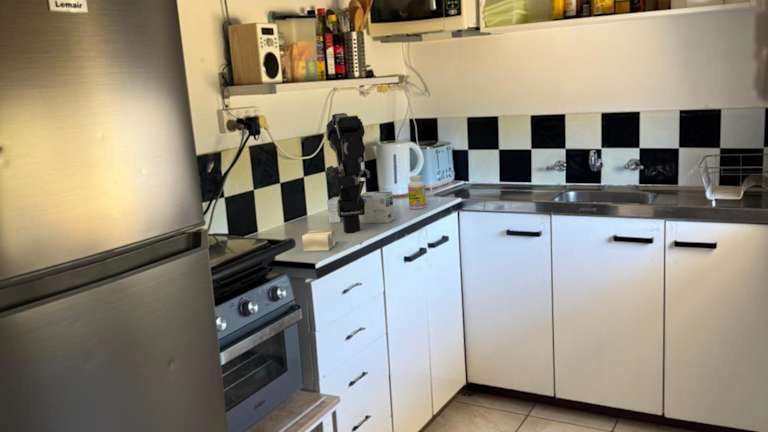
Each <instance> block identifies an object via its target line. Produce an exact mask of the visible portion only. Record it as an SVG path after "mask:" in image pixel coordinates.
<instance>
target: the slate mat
mask: <svg viewBox="0 0 768 432" xmlns="http://www.w3.org/2000/svg"><path fill="white" fill-rule="evenodd" d="M335 242H336V246H335V247H334V248H332V249H331V250H330V251H328V252H304V251H303V246H301V247H300V248H298V249H297V250H296V251H294V252H293V253H292V255H310V254H311V255H313V254H316V255H317V254H337V253H339V252H340V251H341V250H342V249H343V248H344V247H345V246H346V245H347V244H348V243H349V242H350V240H342V241H341V240H339V241H336V240H335Z"/></svg>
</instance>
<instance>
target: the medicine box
mask: <svg viewBox="0 0 768 432" xmlns="http://www.w3.org/2000/svg"><path fill="white" fill-rule="evenodd" d="M338 200H339V196H334V197H331V198H330V199H328V200H327V201H326V204H327V213H328V222H329V223H330V224H335V223H336V224H337V223H342V222H343V217H341V218H339V216H338V213H337V204H338ZM341 213H343V212H341Z"/></svg>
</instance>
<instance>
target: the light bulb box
mask: <svg viewBox="0 0 768 432" xmlns="http://www.w3.org/2000/svg"><path fill="white" fill-rule="evenodd" d="M361 197H362V198H363V200H364V201H365V214H364V215H360V216H361V223H362V224H388V223H390V222H392V221H395V218H396V217H395V210H394V200H393V199H394V198H393V197H394V195H393V191H391V190H390V191H366V192H363V193H361Z"/></svg>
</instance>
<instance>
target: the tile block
mask: <svg viewBox="0 0 768 432" xmlns="http://www.w3.org/2000/svg"><path fill="white" fill-rule="evenodd" d="M335 232H336V231H335V229H325V230H308V232H306V233H305V234H303V235H302V236H301V240H302V247H303V251H304V252H328V251H330V250H331V249H332V248H334V247H335V246H336V235H335Z"/></svg>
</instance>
